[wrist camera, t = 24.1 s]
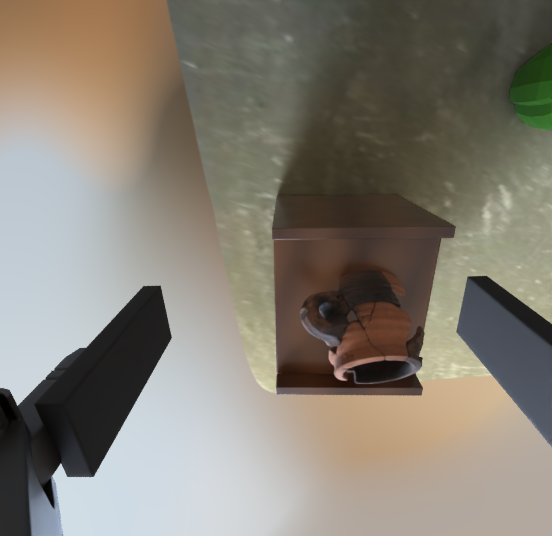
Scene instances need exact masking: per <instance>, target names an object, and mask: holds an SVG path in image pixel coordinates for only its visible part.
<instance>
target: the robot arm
mask: <svg viewBox="0 0 552 536" xmlns="http://www.w3.org/2000/svg"><path fill="white" fill-rule="evenodd" d="M457 333H458V334H459V336H460V337H461V338H462V339H463V340H464V342H465V343H466V344H467V345H468V346H469V348H470V349H471V350H472V351H473V352H474V354H475V355H476V356H477V357H478V358H479V360H480V361H481V362H482V363H483V365H484V366H485V367H486V368H487V369H488V371H489V372H490V373H491V374H492V375H493V377H494V378H495V379H496V380H497V381H498V383H499V384H500V385H501V386H502V387H503V389H504V390H505V391H506V392H507V393H508V395H509V396H510V397H511V398H512V399H513V401H514V402H515V403H516V404H517V405H518V407H519V408H520V409H521V410H522V411H523V413H524V414H525V415H526V416H527V417H528V419H529V420H530V421H531V422H532V424H533V425H534V426H535V427H536V428H537V430H538V431H539V432H540V433H541V434H542V436H543V437H544V438H545V439H546V440H547V442H548V443H549V444H550V445H551V446H552V324H551V323H550V322H548V321H547V320H545V319H544V318H543V317H541V316H540V315H539V314H537V313H536V312H535V311H533V310H532V309H531V308H529V307H528V306H527V305H525V304H524V303H522V302H521V301H520V300H518V299H517V298H516V297H514V296H513V295H512V294H510V293H509V292H508V291H506V290H505V289H504V288H502V287H501V286H499V285H498V284H497V283H495V282H494V281H493V280H491V279H490V278H489V277H487V276H471V277H468V278H467V283H466V288H465V292H464V297H463V302H462V307H461V312H460V317H459V322H458V327H457ZM171 338H172V337H171V332H170V328H169V323H168V318H167V314H166V309H165V304H164V300H163V295H162V290H161V286H143V287H142V289H140V291H139V292H138V293H137V294H136V295H135V296H134V297H133V298H132V299H131V300H130V301H129V303H128V304H127V305H126V306H125V307H124V308H123V309H122V310H121V311H120V312H119V313H118V314H117V315H116V317H115V318H114V319H113V320H112V321H111V322H110V323H109V324H108V325H107V326H106V327H105V328H104V329H103V331H102V332H101V333H100V334H99V335H98V336H97V337H96V338H95V339H94V340H93V341H92V342H91V344H89V346H88V347H87V348H79V349H78V350H76V351H75V352H73V353H72V354H70V355H69V356H67V357H66V358H64V359H63V360H62V361H61V362H60V363H59V365H58V366H57V367H56V368H55V370H54V371H52V372H51V373H50V374H49V375H48V376H47V377H46V379H45V380H43V381H42V382H41V383H40V384H39V385H38V386H37V387H36V388H35V389H34V390H33V391H32V392H31V393H30V394H29V395H28V396H27V397H26V398H25V399H24V400H23V401H22V402H21V403H20V404H19V405H18V406H17V405H16V402H15V400H14V398H13V396H12V394H11V392H10V390H7V389H4V388H0V536H63V531H62V524H61V517H60V511H59V503H58V497H57V490H56V484H55V482H54V480H53V477H52V475H53V474H54V472H55V471H56V469H57V468H58V466H59V465H60V463H61V464H62V466H63V468H64V470H65V472H66V475H67V477H94V475H95V473H96V472H97V470H98V468H99V466H100V464H101V463H102V461H103V459H104V457H105V455H106V454H107V452H108V450H109V448H110V447H111V445H112V443H113V441H114V440H115V438H116V436H117V434H118V432H119V431H120V429H121V427H122V425H123V423H124V422H125V420H126V418H127V416H128V415H129V413H130V411H131V409H132V408H133V406H134V404H135V402H136V400H137V398H138V397H139V395H140V393H141V392H142V390H143V388H144V386H145V384H146V383H147V381H148V379H149V377H150V375H151V374H152V372H153V370H154V368H155V366H156V365H157V363H158V361H159V360H160V358H161V356H162V354H163V352H164V350H165V349H166V347H167V345H168V344H169V342H170V340H171Z"/></svg>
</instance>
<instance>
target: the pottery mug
mask: <svg viewBox="0 0 552 536" xmlns="http://www.w3.org/2000/svg"><path fill="white" fill-rule="evenodd" d="M395 293H397V294H399V295H401V296H404V295H405V294H406V291H405V289H404V287H403V286H402V285H401V283H400V282H399V281H398V279H397V277H396V276H394V275H393V274H391V273H388V272H384V271H379V270H363V271H355V272H352V273H350V274H347V275H344V276H342V277H340V278H339V286H338V291H335V290H331V291H329V292H319V293H315V294H312V295H310V296H309V297H308V298H307V299H306V300H305V301H304V303H303V305H302V307H301V308H300V315H301V321H302V324H303V326H304V328H305V329H306V330H307V331H308V332H309V333H310V334H311V335H313V336H315V337H317V338H319V339H322V340H324V341H325V343H326V344H327V345H328V346H330V347H331V349H330V350H329V360H330V362H331V364H332V365H334V368H335V370H334V374H335V376H336V378H338V379H339V380H348V374H347V372H353V373H354V380H355V383H358V384H373V383H383V382H388V381H393V380H398V379H401V378H404V377H407V376H410V375H412V374H414V373H416V372H417V371H418V370H420V368H421V367H422V359H423V358H422V357H419V356H418V354H419V352H420V351H421V348H422V345H423V338H424V331H423V329H422V327H421V326H418V327H417V330H416V334H415V335H414V336H413V338H411V339H410V340H408V337H409V333H410V330H411V325H412V321H411V319H410V316H409V314H408V313H407V312H406V311H404V310H402V309H401V308H400V307H401V305H400V303H399V300H398V299H397V297H396V295H395ZM319 310H320V312H319ZM350 311H353V313H354V314H355V316H356V317H357V320H354V321H351V322H348V319H347V318H346V317H347V315H348V314H349V312H350ZM407 340H408V341H407ZM406 341H407V342H406Z"/></svg>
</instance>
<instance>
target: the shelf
mask: <svg viewBox="0 0 552 536" xmlns="http://www.w3.org/2000/svg"><path fill="white" fill-rule="evenodd" d="M455 228H456V226H454V225H452V224H450V223H449V222H447V221H445V220H443V219H441V218H440V217H438V216H436V215H434V214H432V213H431V212H429V211H427V210H425V209H423V208H422V207H420V206H418V205H416V204H414V203H413V202H411V201H409V200H407V199H405V198H404V197H402V196H400V195H398V194H356V195H291V196H277V198H276V206H275V213H274V220H273V227H272V239H273V240H274V281H275V322H276V363H277V381H276V394H277V395H422V390H423V387H422V386H421V384H420V382H419V380H418V378H417V376H416V373H414V374H412V375H410V376H407V377H404V378H401V379H398V380H393V381H388V382H383V383H373V384H358V383H355V380H354V373H353V372H347V374H348V380H339V379H338V378H336V376H335V374H334V370H335V368H334V365H332V364H331V362H330V360H329V350H330V349H331V347H330V346H328V345H327V344H326V343H325V341H324V340H322V339H319V338H317V337H315V336H313V335H311V334H310V333H309V332H308V331H307V330H306V329H305V328H304V326H303V324H302V321H301V315H300V308H301V307H302V305H303V303H304V301H305V300H306V299H307V298H308V297H309V296H310V295H312V294H315V293H319V292H329V291H331V290H335V291H338V286H339V278H340V277H342V276H344V275H347V274H350V273H352V272H355V271H363V270H379V271H384V272H388V273H391V274H393V275H394V276H396V277H397V279H398V281H399V282H400V283H401V285H402V286H403V287H404V289H405V291H406V294H405V295H404V296H401V295H399V294H397V293H395V295H396V297H397V299H398V300H399V303H400V305H401V307H400V308H401V309H402V310H404V311H406V312H407V313H408V314H409V316H410V319H411V321H412V325H411V330H410V333H409V337H408V340H410V339H411V338H413V336H414V335H415V334H416V330H417V327H418V326H421V327H422V329H423V331H424V327H425V322H426V316H427V311H428V306H429V300H430V295H431V290H432V284H433V279H434V274H435V268H436V263H437V258H438V252H439V247H440V242H441V238H453V237H454V233H455ZM319 312H320V310H319ZM346 318H347V319H348V322H351V321H354V320H357V317H356V316H355V314H354V313H353V311H350V312H349V314H348V315H347V317H346ZM408 340H407V341H408ZM407 341H406V342H407ZM419 354H420V352H419ZM419 354H418V356H419Z"/></svg>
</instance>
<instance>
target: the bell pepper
mask: <svg viewBox="0 0 552 536" xmlns="http://www.w3.org/2000/svg"><path fill="white" fill-rule="evenodd" d="M510 102H511V103H515V104H516V107H515V112H516V114H517V115H518V117H519V118H520V120H521V121H522V122H523V123H526V124H528V125H530V126H533V127H536V128H539V129H544V130H552V44H550V45H549V46H547V47H546V48H544V49H542V50H541V51H540V52H538V53H537V54H536V55H534V56H533V57H532V58H530V59H529V60H528V61H527V62H526V63H525V64H524V65H523V66H522V67H521V68H520V69H519V70H518V71H517V72H516V74H515V77H514V80H513V82H512V85H511V88H510Z"/></svg>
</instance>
